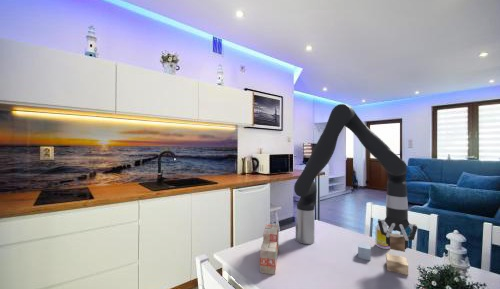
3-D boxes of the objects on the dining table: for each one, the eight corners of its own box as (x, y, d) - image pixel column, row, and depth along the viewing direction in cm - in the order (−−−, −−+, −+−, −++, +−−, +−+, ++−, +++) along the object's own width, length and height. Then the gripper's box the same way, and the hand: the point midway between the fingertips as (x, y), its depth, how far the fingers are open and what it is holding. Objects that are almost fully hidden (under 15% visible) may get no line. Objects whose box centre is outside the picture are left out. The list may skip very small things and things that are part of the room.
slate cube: (358, 257, 98) (358, 246, 98) (358, 253, 103) (358, 242, 103) (370, 260, 96) (370, 249, 96) (370, 255, 100) (370, 244, 100)
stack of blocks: (275, 275, 85) (275, 244, 85) (259, 273, 86) (259, 242, 86) (278, 249, 106) (278, 224, 106) (265, 248, 107) (266, 223, 107)
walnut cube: (390, 249, 89) (390, 236, 89) (389, 244, 93) (389, 232, 93) (404, 252, 86) (404, 239, 86) (403, 246, 91) (403, 235, 91)
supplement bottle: (393, 250, 105) (393, 223, 105) (378, 248, 107) (378, 222, 107) (387, 244, 112) (387, 219, 112) (373, 242, 113) (373, 218, 113)
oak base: (387, 270, 89) (387, 261, 89) (386, 262, 95) (386, 253, 95) (408, 275, 85) (408, 265, 85) (405, 267, 91) (405, 257, 91)
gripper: (376, 206, 90) (377, 246, 90) (420, 211, 83) (420, 255, 83) (376, 201, 97) (376, 239, 97) (416, 206, 90) (416, 247, 90)
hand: (396, 246), depth 90 cm, fingers closed on walnut cube, 5 cm apart
